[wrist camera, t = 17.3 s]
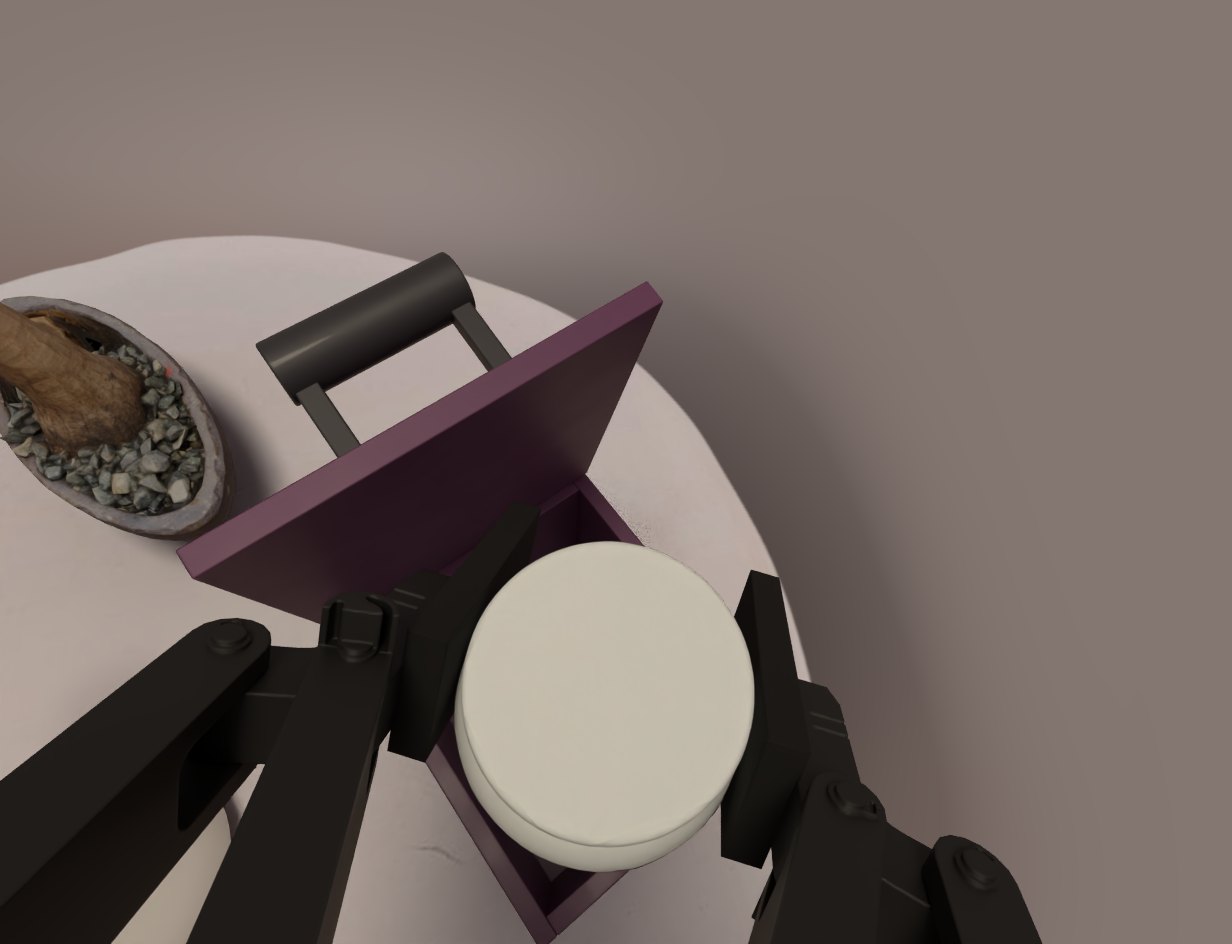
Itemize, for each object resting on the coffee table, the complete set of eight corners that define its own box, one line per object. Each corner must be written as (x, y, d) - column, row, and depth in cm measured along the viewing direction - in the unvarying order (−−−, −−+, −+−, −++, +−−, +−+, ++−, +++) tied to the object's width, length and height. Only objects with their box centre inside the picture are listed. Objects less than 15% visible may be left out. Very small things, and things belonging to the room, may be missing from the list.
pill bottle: (493, 862, 18) (421, 926, 9) (484, 645, 20) (421, 526, 11) (702, 832, 19) (829, 864, 10) (669, 624, 21) (746, 497, 12)
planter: (90, 369, 50) (-178, 129, 32) (319, 388, 51) (183, 163, 33) (0, 560, 44) (-399, 395, 26) (263, 579, 44) (56, 431, 26)
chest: (727, 742, 42) (789, 723, 30) (548, 903, 38) (540, 951, 26) (578, 550, 46) (582, 470, 35) (403, 673, 42) (342, 628, 31)
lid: (663, 301, 19) (546, 152, 20) (191, 579, 15) (66, 376, 16) (587, 472, 35) (522, 384, 35) (344, 633, 30) (277, 529, 31)
